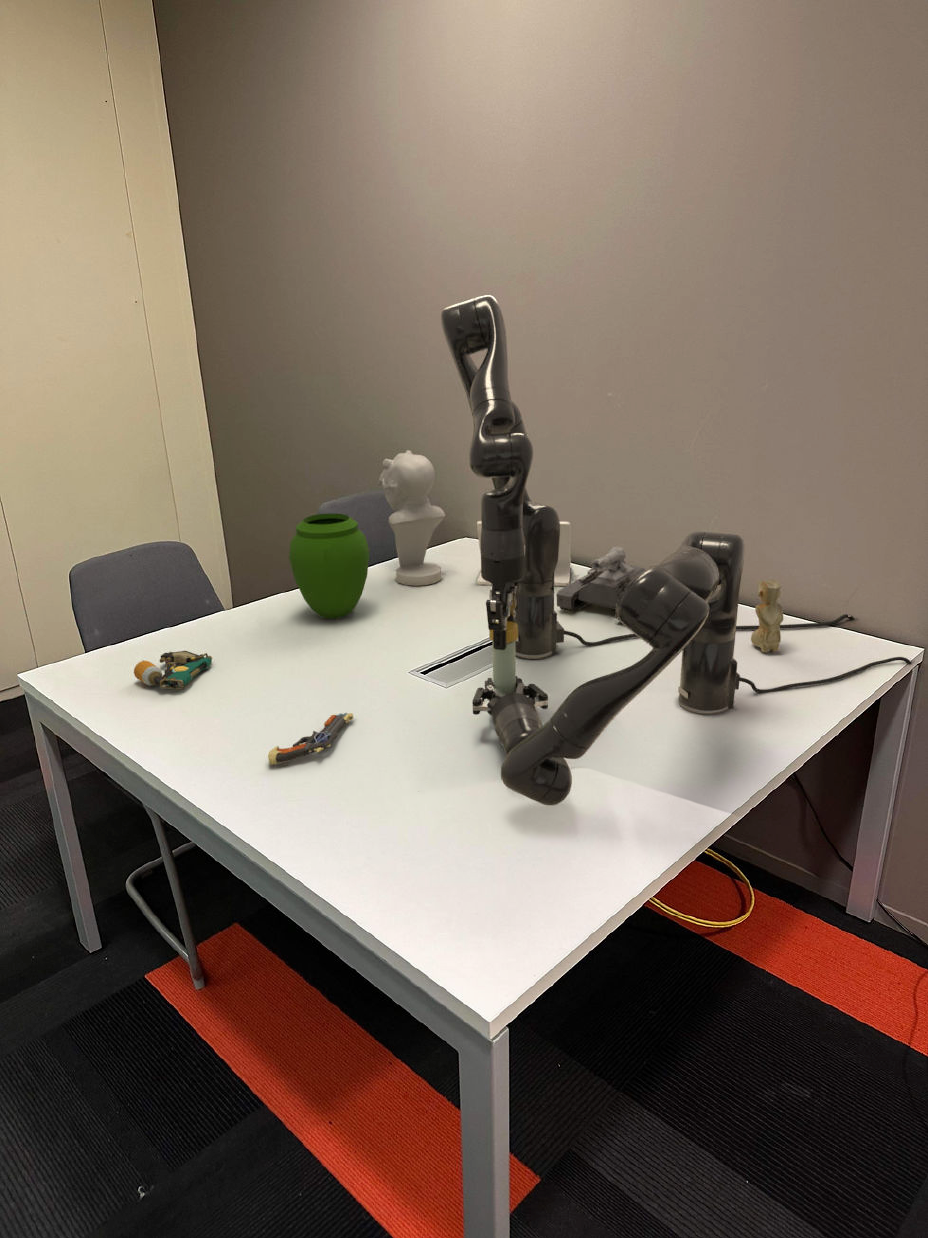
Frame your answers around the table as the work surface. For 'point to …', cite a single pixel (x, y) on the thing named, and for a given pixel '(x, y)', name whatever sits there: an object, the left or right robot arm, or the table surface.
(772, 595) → the sculpture
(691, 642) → the right robot arm
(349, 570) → the vase
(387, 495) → the bust sculpture
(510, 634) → the lid
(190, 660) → the spray gun
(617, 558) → the toy
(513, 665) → the jar
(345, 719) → the toy gun
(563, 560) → the tablet stand
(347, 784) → the table surface
